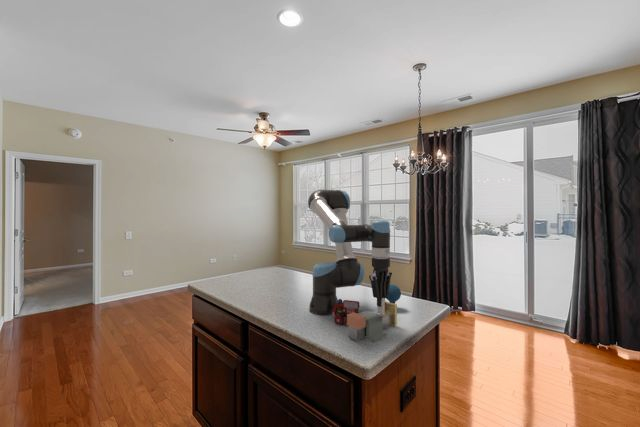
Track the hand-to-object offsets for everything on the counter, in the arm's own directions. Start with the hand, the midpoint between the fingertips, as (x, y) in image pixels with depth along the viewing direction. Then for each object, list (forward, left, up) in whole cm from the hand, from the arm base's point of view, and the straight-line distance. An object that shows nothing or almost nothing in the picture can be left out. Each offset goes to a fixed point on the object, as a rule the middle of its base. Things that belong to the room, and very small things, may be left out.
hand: (380, 313), depth 119 cm
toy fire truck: (-15, +1, -6) cm, 17 cm away
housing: (-4, -7, -6) cm, 10 cm away
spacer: (-8, -13, -1) cm, 16 cm away
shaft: (-3, -5, -6) cm, 8 cm away
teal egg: (+3, +27, -6) cm, 27 cm away
